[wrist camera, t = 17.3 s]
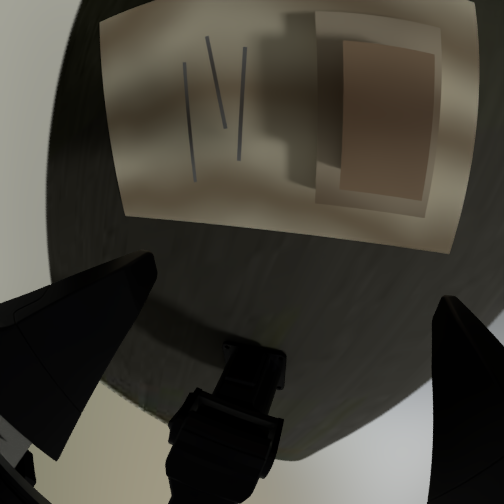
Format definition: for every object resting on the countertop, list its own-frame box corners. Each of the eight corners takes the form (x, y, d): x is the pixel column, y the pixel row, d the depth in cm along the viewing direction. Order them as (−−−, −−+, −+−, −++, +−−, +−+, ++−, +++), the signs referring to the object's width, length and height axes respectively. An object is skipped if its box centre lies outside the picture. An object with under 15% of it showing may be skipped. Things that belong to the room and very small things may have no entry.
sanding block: (417, 203, 15) (437, 247, 11) (318, 190, 17) (306, 229, 13) (430, 34, 10) (461, 16, 6) (319, 19, 11) (306, -7, 7)
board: (443, 242, 17) (449, 253, 16) (136, 208, 24) (125, 215, 23) (465, 7, 9) (474, 2, 7) (112, 23, 15) (99, 22, 14)
